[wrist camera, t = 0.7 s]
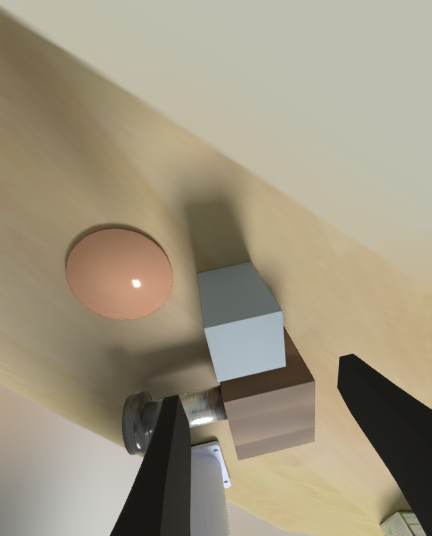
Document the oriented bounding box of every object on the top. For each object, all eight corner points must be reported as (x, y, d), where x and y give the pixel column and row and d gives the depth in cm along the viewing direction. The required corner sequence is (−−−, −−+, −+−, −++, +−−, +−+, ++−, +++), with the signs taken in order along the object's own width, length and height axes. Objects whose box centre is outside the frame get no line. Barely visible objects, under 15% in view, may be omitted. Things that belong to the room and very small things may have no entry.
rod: (236, 391, 22) (247, 439, 18) (144, 413, 22) (136, 466, 18) (229, 360, 20) (240, 406, 17) (129, 384, 20) (117, 435, 16)
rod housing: (287, 381, 24) (314, 441, 19) (226, 395, 24) (238, 460, 19) (283, 325, 21) (315, 380, 16) (213, 341, 20) (223, 402, 15)
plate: (182, 305, 18) (182, 308, 18) (92, 325, 18) (91, 328, 18) (157, 218, 15) (156, 219, 15) (48, 241, 15) (46, 242, 15)
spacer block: (257, 306, 19) (285, 366, 14) (207, 317, 19) (217, 382, 14) (251, 261, 18) (282, 311, 12) (196, 273, 17) (204, 328, 12)
